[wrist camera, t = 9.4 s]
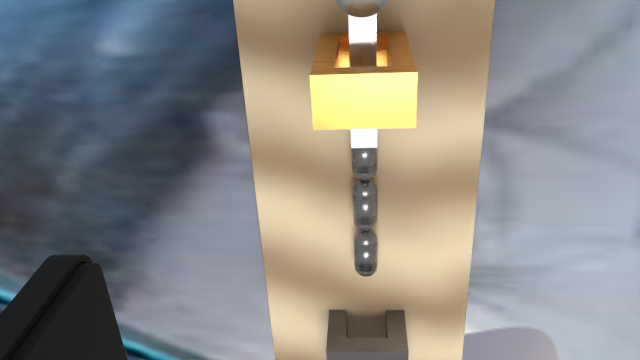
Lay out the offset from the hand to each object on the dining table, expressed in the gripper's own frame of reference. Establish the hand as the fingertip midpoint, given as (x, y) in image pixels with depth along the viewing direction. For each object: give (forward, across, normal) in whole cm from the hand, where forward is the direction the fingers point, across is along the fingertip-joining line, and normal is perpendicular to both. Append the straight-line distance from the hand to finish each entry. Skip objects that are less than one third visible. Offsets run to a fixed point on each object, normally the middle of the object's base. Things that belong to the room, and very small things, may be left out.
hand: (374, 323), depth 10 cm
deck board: (+18, 0, +6) cm, 19 cm away
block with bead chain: (+17, 0, +5) cm, 18 cm away
